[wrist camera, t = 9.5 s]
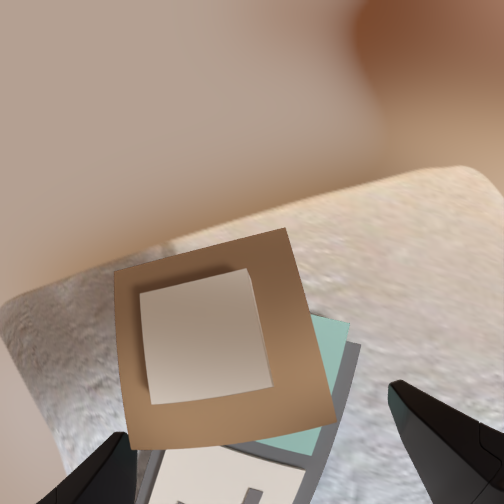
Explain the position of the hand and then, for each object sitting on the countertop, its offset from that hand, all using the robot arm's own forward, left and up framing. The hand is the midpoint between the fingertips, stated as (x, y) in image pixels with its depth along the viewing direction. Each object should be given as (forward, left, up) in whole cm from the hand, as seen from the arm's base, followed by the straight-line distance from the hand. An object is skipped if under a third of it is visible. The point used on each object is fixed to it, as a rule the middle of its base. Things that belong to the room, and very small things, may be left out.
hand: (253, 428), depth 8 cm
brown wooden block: (+2, +1, -7) cm, 8 cm away
